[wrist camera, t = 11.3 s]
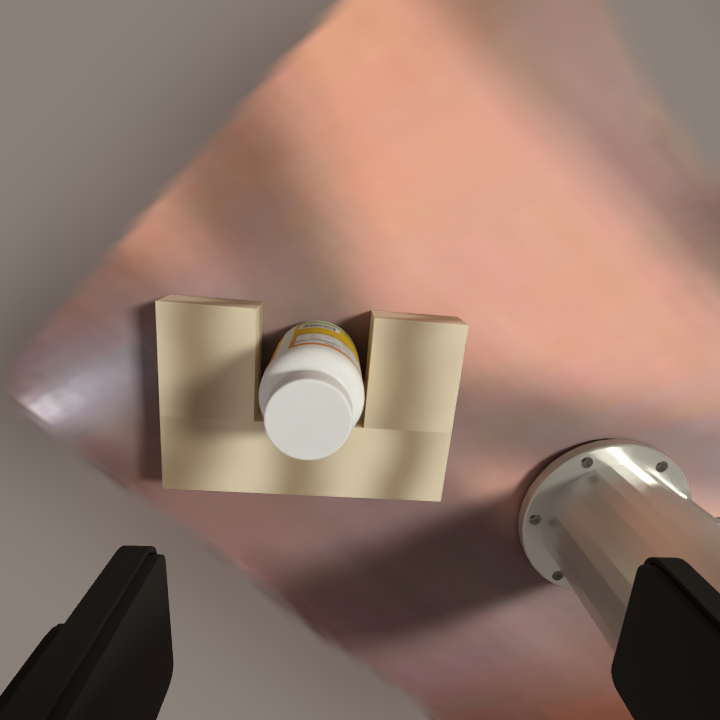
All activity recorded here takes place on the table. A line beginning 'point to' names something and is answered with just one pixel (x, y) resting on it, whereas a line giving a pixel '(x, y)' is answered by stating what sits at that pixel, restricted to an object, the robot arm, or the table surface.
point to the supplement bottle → (312, 391)
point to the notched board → (246, 423)
